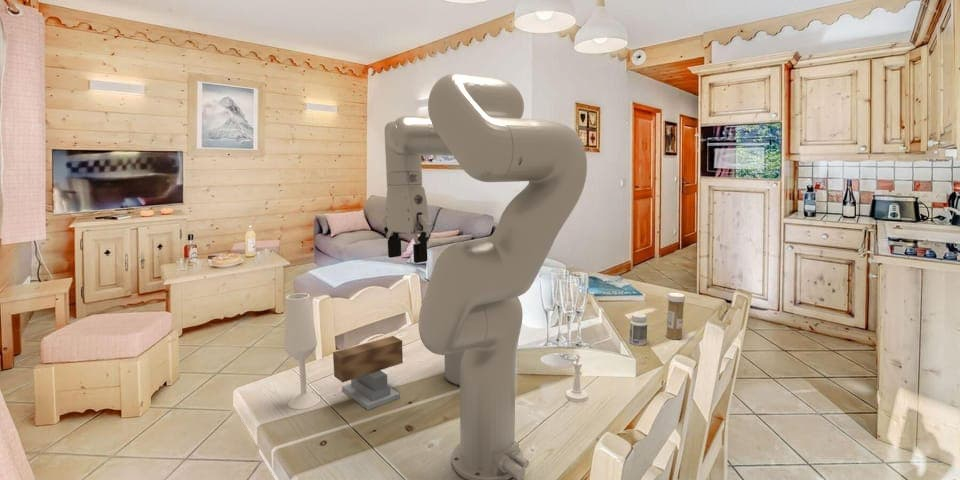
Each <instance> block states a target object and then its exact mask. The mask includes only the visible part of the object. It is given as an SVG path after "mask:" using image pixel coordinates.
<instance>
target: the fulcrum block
mask: <svg viewBox="0 0 960 480" xmlns="http://www.w3.org/2000/svg"><path fill="white" fill-rule="evenodd" d="M341 388H342V389H341V391H342V392H343V393H345V394H346V395H348V397H350V398H352V399H353V400H354V401H355V402H357V404H359V405H360V406H362V407H363V408H365V409H366V411H369V410H372V409H374V408H377V407H380V406H383V405H385V404H388V403H390V402H394V401H396V400H398V399H401V393H399V392H398V391H396V390H394V388H393V387H391V385H389V384H388V374H387V373H385V372H383V371H382V370H380V371H377V372H373V373H370V374H367V375H364V376H361V377H358V378H355V379H352V380H350V383H348V384H346V385H342V386H341Z"/></svg>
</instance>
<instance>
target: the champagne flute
mask: <svg viewBox="0 0 960 480" xmlns="http://www.w3.org/2000/svg"><path fill="white" fill-rule="evenodd" d="M284 310H285V312H284V315H285V316H284V342H283V343H284V345H283V346H284V347H283V348H284V350H285V352H286V354H287V355H289V356H290V357H291V358H293V360H296V361H298V363H299V365H298V367H299V380H300V381H299V383H300V394H298V395H296V396H295V397H294V398H291V399H290V400H289V401H288V407H289V408H291V409H295V410H305V409H308V408H312V407H314V406H316V405H318V404H320V401H321V397H320V396H319V395H316V394H314V393H310V392H308V391H307V374H306V372H307V371H306V360H307V359H308V358H309V357H310V356H311V355H313V353H314V352H315V350H316V348H317V346H318V339H317V333H316V328H315V322H314V315H313V309H312V303H311V297H310V294H309V293H305V292H304V293H303V292H302V293H300V292H299V293H292V294H289V295H287V296H285V309H284Z"/></svg>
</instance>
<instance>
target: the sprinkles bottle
mask: <svg viewBox="0 0 960 480" xmlns="http://www.w3.org/2000/svg"><path fill="white" fill-rule="evenodd" d="M685 299H686V296H685V294H684V293H680V292H669V293H668V296H667V301H668V304H667V305H668V307H667V318H666V319H667V320H666V335H665V337H666V338H668V339H670V340H676V341H677V340H681V339H682V338H683V325H684V324H683V323H684V306H685V305H684V304H685Z"/></svg>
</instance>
